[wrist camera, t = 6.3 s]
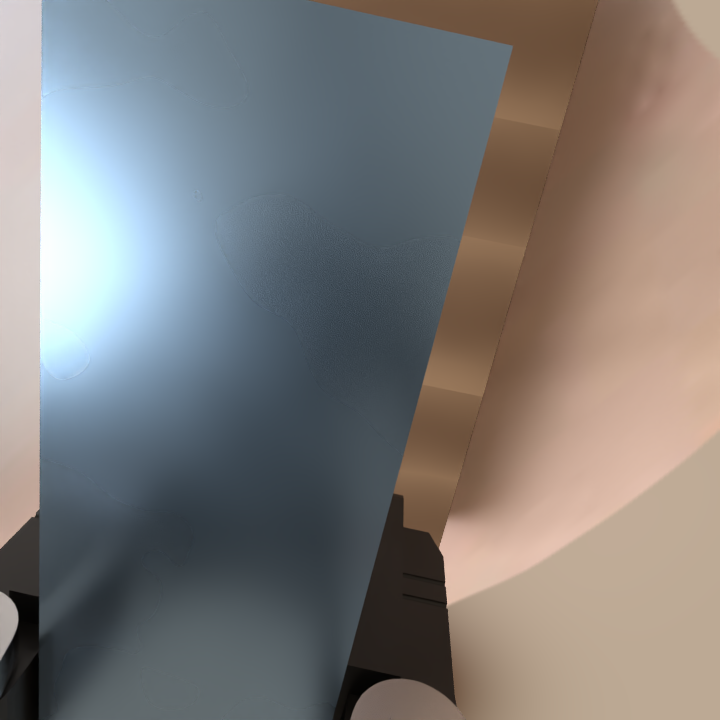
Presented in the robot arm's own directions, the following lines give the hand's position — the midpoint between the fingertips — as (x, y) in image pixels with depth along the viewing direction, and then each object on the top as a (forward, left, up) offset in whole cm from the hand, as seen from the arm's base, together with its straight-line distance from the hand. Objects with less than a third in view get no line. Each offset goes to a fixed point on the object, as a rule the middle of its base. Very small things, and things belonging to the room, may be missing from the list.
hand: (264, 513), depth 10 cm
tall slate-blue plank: (0, 0, -3) cm, 3 cm away
